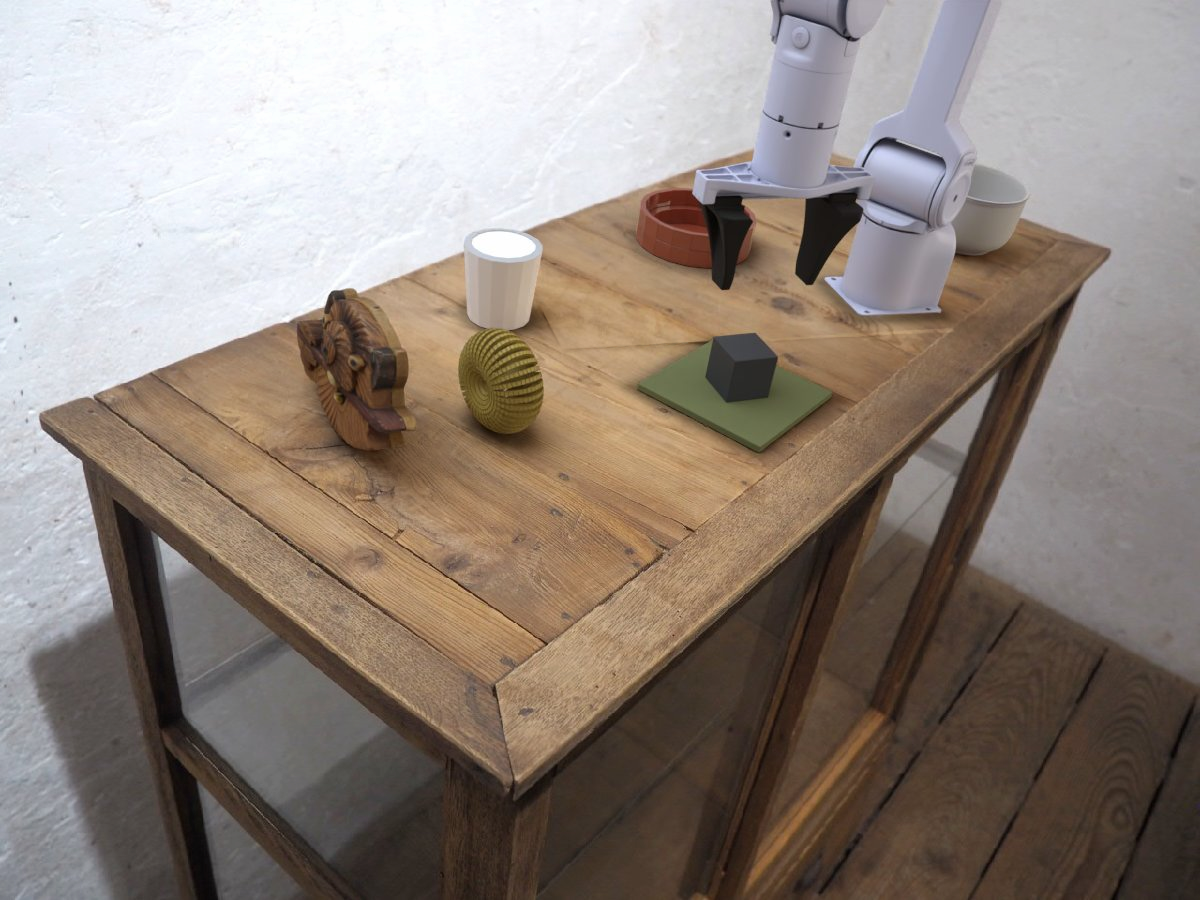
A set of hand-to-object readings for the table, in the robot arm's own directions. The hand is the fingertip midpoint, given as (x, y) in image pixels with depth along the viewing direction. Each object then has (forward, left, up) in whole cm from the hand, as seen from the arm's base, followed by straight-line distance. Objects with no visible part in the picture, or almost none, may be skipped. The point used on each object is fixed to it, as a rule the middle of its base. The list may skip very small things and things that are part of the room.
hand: (762, 281), depth 85 cm
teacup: (-38, -26, -10) cm, 47 cm away
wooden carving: (+33, +3, -10) cm, 35 cm away
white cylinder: (+18, -13, -10) cm, 24 cm away
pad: (+1, +2, -9) cm, 10 cm away
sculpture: (+22, +4, -10) cm, 25 cm away
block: (+2, +2, -9) cm, 9 cm away
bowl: (-6, -26, -9) cm, 28 cm away
